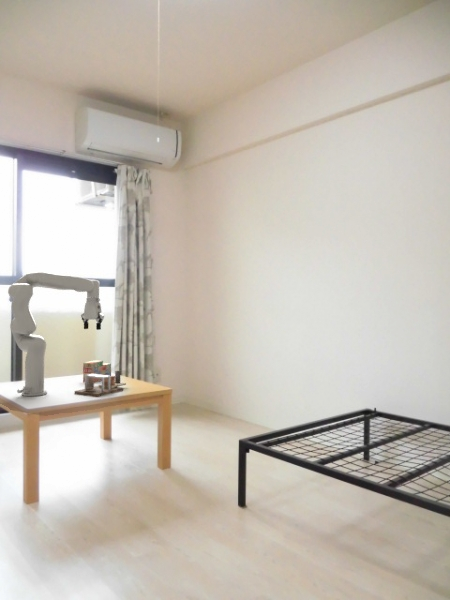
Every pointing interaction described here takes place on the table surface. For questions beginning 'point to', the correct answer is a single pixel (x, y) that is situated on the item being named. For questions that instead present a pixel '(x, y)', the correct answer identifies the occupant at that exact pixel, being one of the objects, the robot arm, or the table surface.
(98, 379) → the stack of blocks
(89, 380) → the tunnel
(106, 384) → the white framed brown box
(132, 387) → the table surface
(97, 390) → the track board
